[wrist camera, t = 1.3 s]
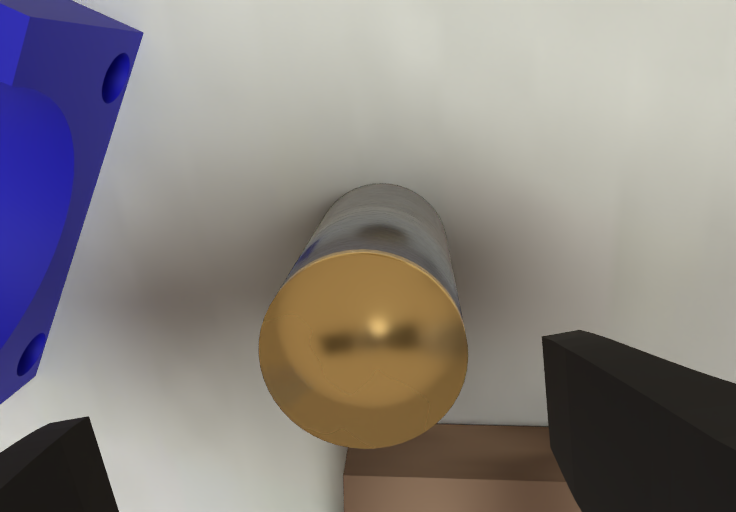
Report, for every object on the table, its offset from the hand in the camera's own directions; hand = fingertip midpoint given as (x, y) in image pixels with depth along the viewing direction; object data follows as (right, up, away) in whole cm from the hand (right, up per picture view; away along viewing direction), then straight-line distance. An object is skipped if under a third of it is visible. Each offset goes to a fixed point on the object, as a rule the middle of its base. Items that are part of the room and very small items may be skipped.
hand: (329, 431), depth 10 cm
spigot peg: (+1, +3, +10) cm, 10 cm away
